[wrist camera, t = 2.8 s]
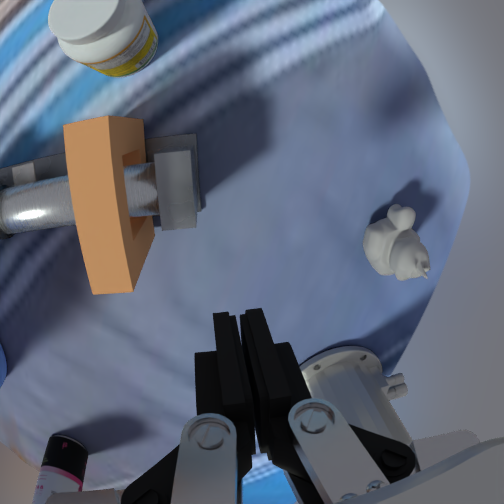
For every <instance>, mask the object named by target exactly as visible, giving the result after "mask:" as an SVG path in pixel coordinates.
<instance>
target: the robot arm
mask: <svg viewBox="0 0 504 504" xmlns="http://www.w3.org/2000/svg"><path fill="white" fill-rule="evenodd" d="M213 320H214V330H215V340H216V349H217V351H209V352H198V353H195V385H196V407H197V416H195V417H193V418H192V419H190V420H189V421H188V422H187V423H186V424H185V425H184V428H183V430H182V434H181V440H180V444H179V445H178V446H177V447H176V448H175V449H173V450H172V451H171V452H170V453H169V454H168V455H166V456H165V457H164V458H163V459H161V460H160V461H159V462H158V463H157V464H155V465H154V466H153V467H152V468H150V469H149V470H148V471H147V472H145V473H144V474H143V475H142V476H140V477H139V478H138V479H137V480H135V481H134V482H133V483H131V484H130V485H129V486H128V487H127V488H126V489H123V490H115V489H114V488H112V489H103V490H93V491H80V492H61V493H55V494H53V495H51V496H50V497H48V499H47V500H46V502H45V504H243V477H244V476H245V475H246V474H247V473H248V472H249V470H250V469H251V468H252V456H251V455H253V454H256V447H255V430H256V435H257V439H258V444H259V448H260V452H261V453H267V456H268V460H272V462H273V464H274V465H276V466H278V467H279V468H281V469H283V471H284V475H285V477H286V479H287V481H288V483H289V485H290V487H291V489H292V491H293V493H294V495H295V497H296V499H297V501H298V503H299V504H504V437H500V438H495V439H491V440H487V441H484V442H481V443H480V441H479V439H478V438H477V436H476V435H475V434H474V433H472V432H471V431H468V430H459V431H454V432H451V433H447V434H442V435H438V436H433V437H429V438H424V439H418V440H412V438H411V437H410V435H409V433H408V432H407V430H406V428H405V427H404V425H403V423H402V422H401V420H400V418H399V417H398V415H397V413H396V412H395V410H394V408H393V407H392V405H391V403H390V402H389V401H390V400H394V399H397V398H400V397H403V396H406V395H407V391H408V389H407V386H406V384H405V383H404V376H403V374H402V373H398V374H395V375H392V376H390V377H386V376H383V375H382V365H381V363H380V361H379V359H378V358H377V356H376V355H375V354H374V353H373V352H372V351H370V350H369V349H366V348H364V347H359V346H344V347H339V348H334V349H331V350H328V351H325V352H323V353H321V354H318V355H316V356H314V357H313V358H311V359H309V360H308V361H306V362H305V363H303V364H302V365H301V366H300V367H299V364H298V362H297V360H296V357H295V355H294V352H293V350H292V347H291V345H290V343H289V342H284V343H277V344H274V343H273V340H272V337H271V334H270V331H269V328H268V325H267V322H266V319H265V316H264V313H263V310H262V308H258V309H249V310H246V311H245V314H242V315H240V326H241V341H240V336H239V331H238V326H237V321H236V316H235V315H232V316H229V312H221V313H213ZM241 342H242V345H241Z"/></svg>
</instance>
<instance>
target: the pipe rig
mask: <svg viewBox="0 0 504 504" xmlns="http://www.w3.org/2000/svg"><path fill="white" fill-rule="evenodd" d="M145 152H146V163H143V164H135V165H128V166H123V170H124V179H125V187H126V195H127V203H128V210H129V217H140V216H149V215H152V216H158V215H160V219H161V227H162V231H163V230H174V229H185V228H196V224H197V212H201V199H200V186H199V171H198V155H197V138H196V134H186V135H175V136H166V137H157V138H149V139H145ZM71 225H76V221H75V216H74V210H73V204H72V198H71V192H70V185H69V178H68V170H67V162H66V153H61V154H56V155H52V156H47V157H43V158H39V159H35V160H31V161H27V162H23V163H19V164H16V165H12V166H8V167H5V168H1V169H0V240H1V239H7V238H11V237H12V236H13V235H14V234H16V233H23V232H29V231H36V230H43V229H50V228H57V227H64V226H71Z"/></svg>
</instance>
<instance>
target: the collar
mask: <svg viewBox="0 0 504 504" xmlns="http://www.w3.org/2000/svg"><path fill="white" fill-rule="evenodd" d="M63 130H64V142H65V153H66V162H67V170H68V178H69V185H70V192H71V198H72V204H73V210H74V216H75V221H76V226H77V231H78V236H79V241H80V245H81V250H82V254H83V258H84V262H85V267H86V270H87V274H88V278H89V282H90V286H91V289H92V293H93V295H94V294H110V293H125V292H133V291H134V289H135V286H136V283H137V280H138V278H139V275H140V272H141V270H142V267H143V265H144V262H145V259H146V257H147V254H148V252H149V249H150V247H151V244H152V242H153V239H154V237H155V233H154V226H153V218H152V215H149V216H140V217H129V210H128V203H127V195H126V187H125V179H124V170H123V166H128V165H135V164H143V163H146V152H145V139H144V124H143V119H136V118H127V117H117V116H103V117H98V118H93V119H88V120H83V121H79V122H74V123H70V124H66V125H63Z"/></svg>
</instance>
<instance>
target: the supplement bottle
mask: <svg viewBox="0 0 504 504" xmlns="http://www.w3.org/2000/svg"><path fill="white" fill-rule="evenodd" d="M48 24H49V27H50V30H51V31H52V33H53V34H54V35H55V36H56V37H58V42H59V45H60V47H61V49H62V50H63V52H64V53H65V54H66V55H67V56H69V57H70V58H71V59H73V60H75V61H77V62H79V63H82V64H84V65H86V66H88V67H90V68H92V69H94V70H96V71H98V72H100V73H103V74H105V75H107V76H110V77H115V78H121V77H127V76H130V75H133V74H135V73H137V72H139V71H140V70H142V69H143V68H144V67H145V66H146V65H147V64H148V63H149V62H150V61H151V60H152V58H153V56H154V55H155V53H156V50H157V46H158V35H157V31H156V29H155V27H154V25H153V23H152V21H151V19H150V17H149V15H148V13H147V11H146V9H145V7H144V4H143V2H142V1H141V0H54V2H53V3H52V5H51V8H50V11H49V15H48Z"/></svg>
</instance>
